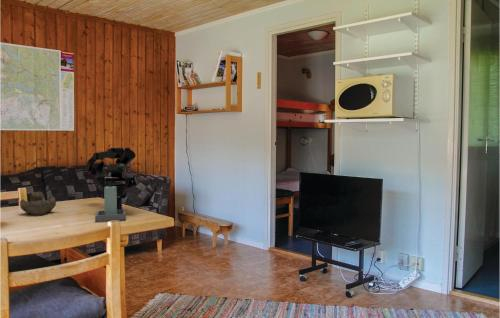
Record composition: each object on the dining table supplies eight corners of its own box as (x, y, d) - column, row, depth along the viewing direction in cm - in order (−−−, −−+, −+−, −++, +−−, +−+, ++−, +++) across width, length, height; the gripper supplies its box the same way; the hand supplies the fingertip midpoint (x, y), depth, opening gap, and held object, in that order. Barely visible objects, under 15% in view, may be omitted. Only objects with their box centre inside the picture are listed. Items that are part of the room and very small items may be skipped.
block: (107, 215, 202) (107, 186, 201) (117, 215, 202) (116, 186, 201) (104, 217, 197) (104, 187, 197) (114, 217, 197) (113, 187, 197)
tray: (97, 216, 204) (97, 210, 204) (125, 215, 208) (125, 209, 208) (95, 222, 192) (95, 215, 191) (125, 220, 195) (125, 214, 195)
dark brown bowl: (18, 206, 201) (19, 190, 213) (21, 225, 206) (22, 209, 218) (55, 202, 207) (54, 187, 219) (57, 220, 212) (56, 205, 224)
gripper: (97, 158, 209) (89, 183, 198) (135, 158, 208) (129, 183, 198) (103, 172, 217) (95, 197, 207) (139, 172, 217) (134, 197, 206)
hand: (113, 193), depth 204 cm, fingers open, 9 cm apart
